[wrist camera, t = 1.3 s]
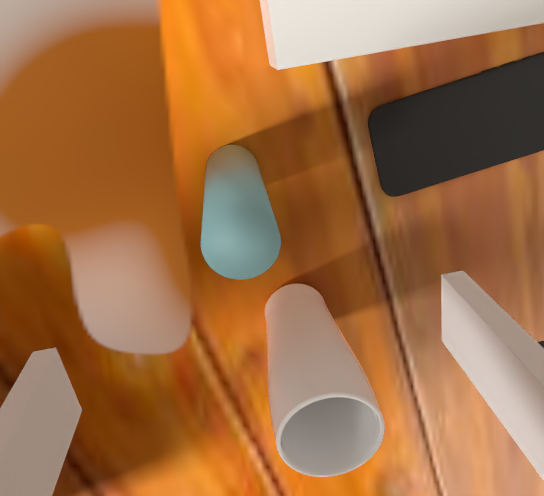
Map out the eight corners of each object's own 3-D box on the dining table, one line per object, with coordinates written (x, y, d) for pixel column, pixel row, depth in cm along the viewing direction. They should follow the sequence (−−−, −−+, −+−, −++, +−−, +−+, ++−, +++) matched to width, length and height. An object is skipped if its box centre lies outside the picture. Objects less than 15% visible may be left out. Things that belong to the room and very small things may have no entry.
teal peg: (211, 200, 38) (209, 286, 25) (200, 149, 36) (192, 214, 23) (262, 190, 38) (286, 271, 25) (253, 140, 36) (274, 199, 23)
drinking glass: (326, 340, 44) (376, 477, 30) (252, 339, 43) (270, 480, 30) (337, 274, 41) (396, 392, 28) (258, 271, 41) (280, 392, 27)
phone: (366, 110, 36) (564, 46, 35) (363, 108, 36) (556, 46, 36) (385, 201, 39) (567, 143, 38) (382, 197, 40) (560, 141, 39)
